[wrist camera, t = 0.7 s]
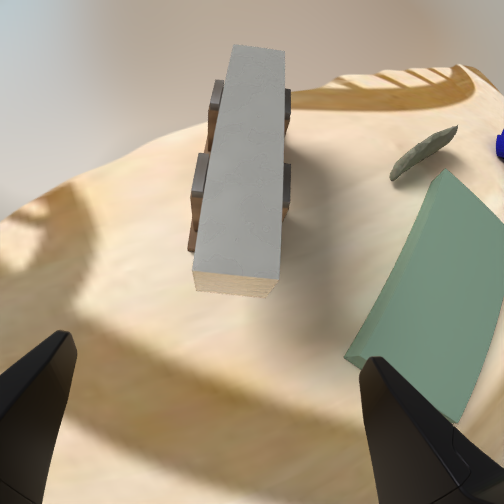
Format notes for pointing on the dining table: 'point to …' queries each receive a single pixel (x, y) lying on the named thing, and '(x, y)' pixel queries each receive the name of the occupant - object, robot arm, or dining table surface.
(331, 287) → the dining table surface
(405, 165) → the stone
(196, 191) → the rack
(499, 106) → the dining table surface
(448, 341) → the green rectangular slab
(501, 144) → the toy
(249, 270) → the rail
